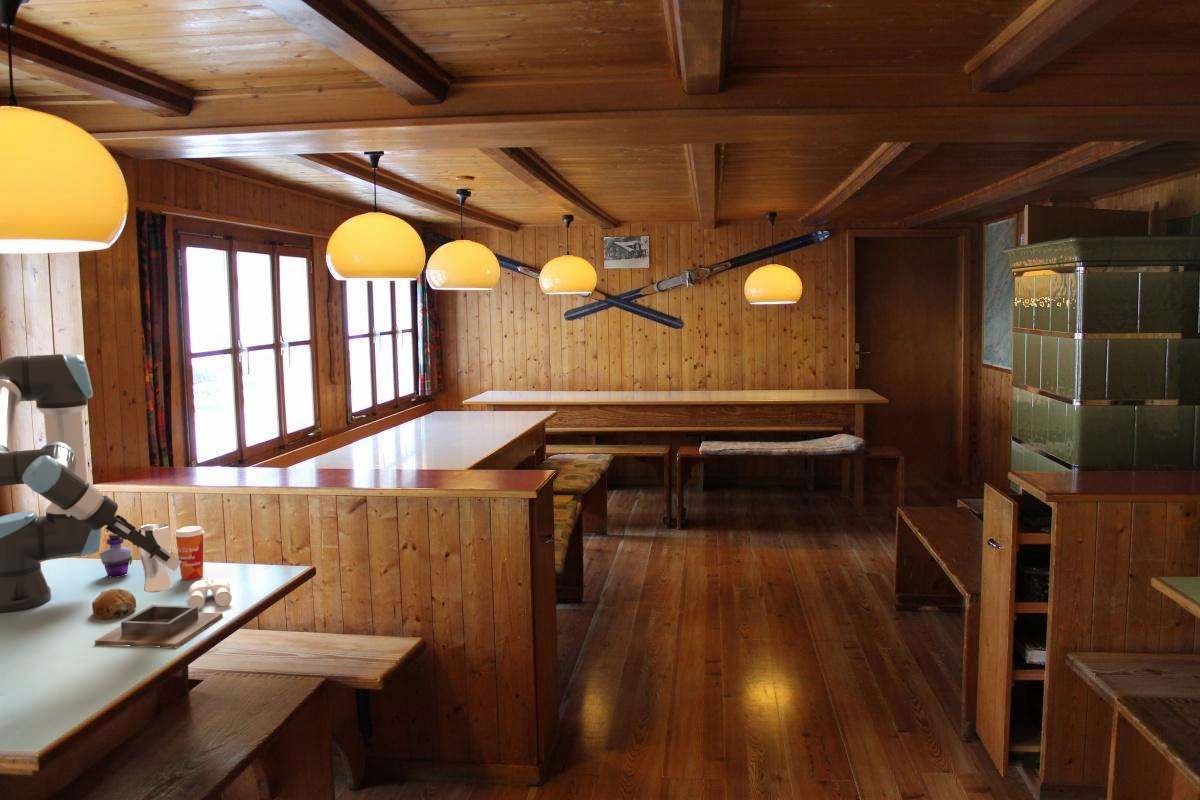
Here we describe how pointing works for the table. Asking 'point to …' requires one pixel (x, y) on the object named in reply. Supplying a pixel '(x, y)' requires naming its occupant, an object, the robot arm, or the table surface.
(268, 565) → the table surface
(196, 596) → the binoculars
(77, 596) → the table surface
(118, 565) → the potion bottle
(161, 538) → the beer glass
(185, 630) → the holder board
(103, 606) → the bread roll
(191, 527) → the paper cup
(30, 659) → the table surface
